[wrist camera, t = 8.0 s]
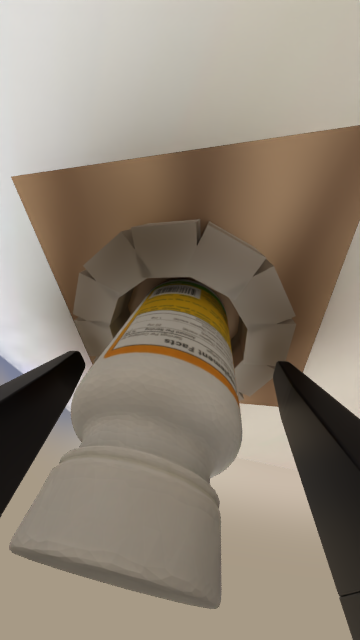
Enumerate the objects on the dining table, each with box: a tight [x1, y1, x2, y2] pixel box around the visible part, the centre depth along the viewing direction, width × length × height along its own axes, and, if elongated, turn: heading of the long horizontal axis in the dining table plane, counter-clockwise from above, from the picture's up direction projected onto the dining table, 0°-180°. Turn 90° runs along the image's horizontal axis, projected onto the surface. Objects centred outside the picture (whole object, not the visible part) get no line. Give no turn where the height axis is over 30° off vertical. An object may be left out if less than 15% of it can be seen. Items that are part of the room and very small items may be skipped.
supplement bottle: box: [9, 279, 242, 609], centre depth 7 cm, size 5×5×10 cm
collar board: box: [11, 125, 360, 407], centre depth 11 cm, size 16×16×3 cm
